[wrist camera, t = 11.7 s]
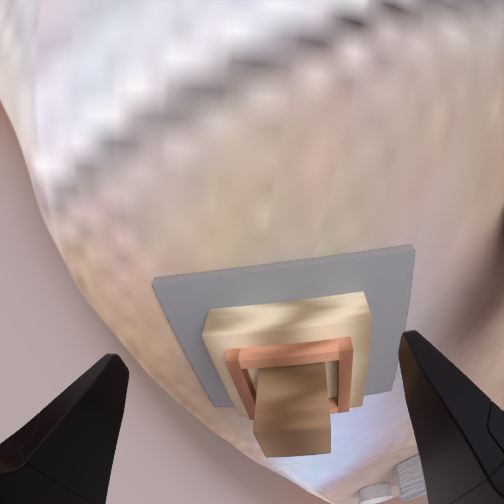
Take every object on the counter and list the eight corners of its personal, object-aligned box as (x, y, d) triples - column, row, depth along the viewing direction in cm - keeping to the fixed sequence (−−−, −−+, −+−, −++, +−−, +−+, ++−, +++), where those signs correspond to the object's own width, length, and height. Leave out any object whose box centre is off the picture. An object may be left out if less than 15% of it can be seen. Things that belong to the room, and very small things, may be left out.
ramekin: (385, 488, 56) (386, 501, 52) (353, 492, 57) (354, 506, 53) (397, 479, 51) (398, 493, 48) (363, 484, 52) (364, 499, 48)
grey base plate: (411, 244, 20) (415, 250, 20) (389, 385, 29) (391, 390, 29) (154, 277, 24) (151, 283, 23) (215, 401, 33) (214, 406, 32)
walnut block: (324, 357, 22) (330, 427, 17) (326, 392, 24) (330, 453, 19) (259, 364, 23) (253, 432, 17) (269, 397, 25) (265, 457, 20)
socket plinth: (363, 291, 22) (375, 330, 18) (358, 381, 28) (363, 416, 24) (209, 309, 24) (198, 348, 20) (242, 392, 30) (238, 426, 26)
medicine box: (405, 465, 45) (410, 500, 38) (395, 464, 44) (399, 500, 37) (437, 450, 42) (444, 486, 34) (428, 448, 41) (435, 486, 33)
